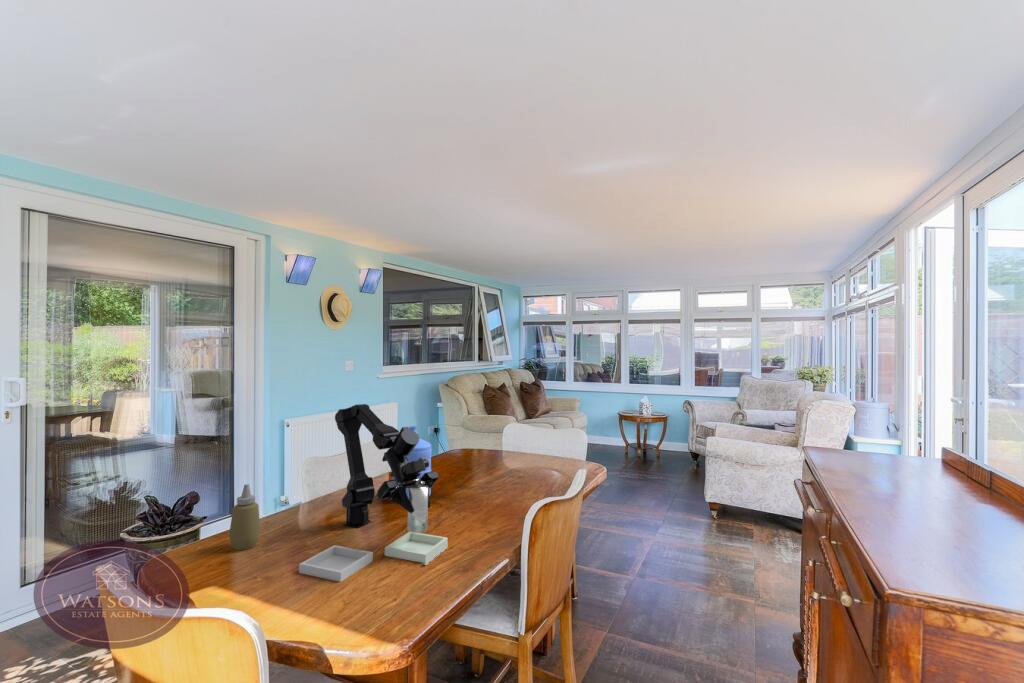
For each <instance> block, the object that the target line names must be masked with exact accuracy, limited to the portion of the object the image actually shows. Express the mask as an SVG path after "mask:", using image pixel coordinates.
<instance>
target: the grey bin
mask: <svg viewBox="0 0 1024 683" xmlns="http://www.w3.org/2000/svg"><path fill="white" fill-rule="evenodd" d="M373 560H374V552H373V551H368V550H362V549H357V548H352V547H346V546H341V545H335V544H334V545H332V546H330V547H328V548H326V549H324V550H323V551H321V552H319V553H317V554H315V555H313V556H311V557H310V558H308V559H305V561H302V562H300V563H299V568H298V573H299V574H302V575H303V574H304V575H307V576H312V577H316V578H321V579H326V580H331V581H335V582H342V581H344V580H345V579H347V578H349V577H351V576H352V575H353V574H355V573H357V572H358V571H360V570H361V569H362V568H364V567H365V566H367V565H369V564H371V563H372V562H373Z"/></svg>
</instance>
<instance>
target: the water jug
mask: <svg viewBox="0 0 1024 683" xmlns="http://www.w3.org/2000/svg"><path fill="white" fill-rule="evenodd" d="M408 428H409V430H412V431H414V432H415V433H416V434H417V433H418V432H417V428H418V426H413V425H412V426H408ZM432 451H433V450H432V444H431V442H429V441H426V440H424V439H422V438H420V437H419V442H418V443H417V445H416V446H415V447H414V449H413V450H412V452H411V453H410V454H409V455H407V458H408V460H409V461H417V460H418V459H419V458H421V457H426V458H427V460H428V462H429V467H427V468H426V470H425V471H424V470H423V471H421V472H420V475H419V476H418V477H417V479H420V478H421V477H422V476H423V475H424V474H425V473H427V472H432V454H433V452H432ZM393 479H395V477H392V479H391V480H393ZM395 480H396V479H395ZM431 491H432V489H431V488H429V497H430V496H431V493H432V492H431ZM408 494H409V488H406V495H407V497H408Z"/></svg>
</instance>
